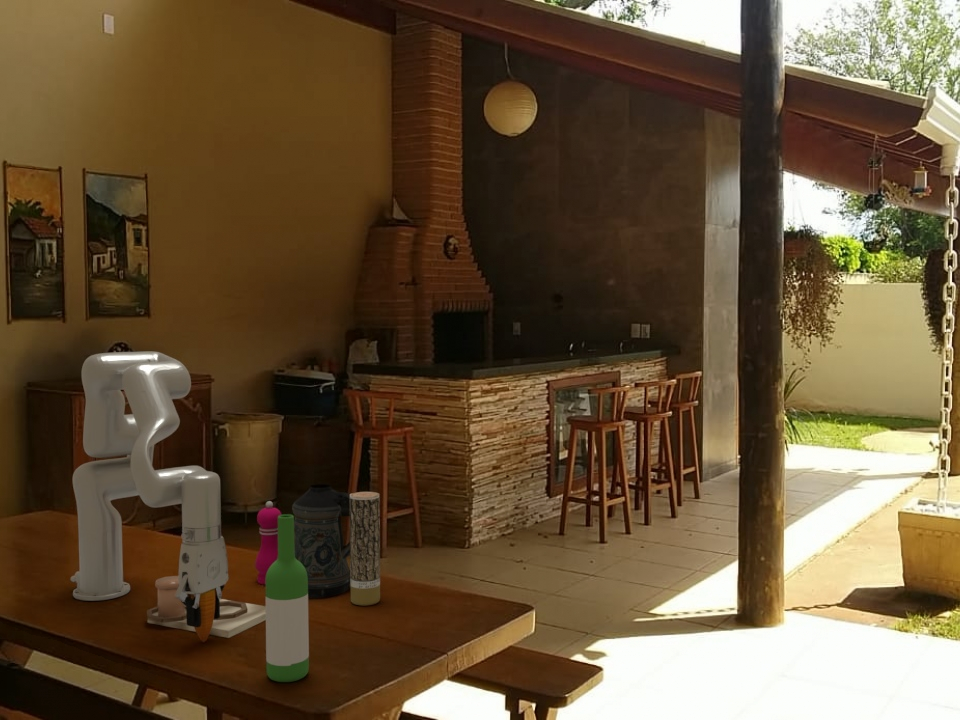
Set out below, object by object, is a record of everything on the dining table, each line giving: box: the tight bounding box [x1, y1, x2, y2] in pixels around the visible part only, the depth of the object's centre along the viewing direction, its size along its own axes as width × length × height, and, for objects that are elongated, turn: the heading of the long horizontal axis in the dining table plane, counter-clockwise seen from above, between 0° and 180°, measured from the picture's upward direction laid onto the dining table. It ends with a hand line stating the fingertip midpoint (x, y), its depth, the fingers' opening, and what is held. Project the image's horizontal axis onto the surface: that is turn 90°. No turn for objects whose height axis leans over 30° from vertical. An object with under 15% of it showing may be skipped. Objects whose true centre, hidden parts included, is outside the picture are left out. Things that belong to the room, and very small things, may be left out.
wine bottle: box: [264, 513, 310, 683], centre depth 176 cm, size 8×8×30 cm
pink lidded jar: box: [154, 575, 185, 617], centre depth 206 cm, size 6×6×8 cm
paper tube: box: [349, 491, 381, 607], centre depth 219 cm, size 7×7×25 cm
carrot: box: [191, 589, 215, 643], centre depth 193 cm, size 5×5×15 cm
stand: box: [146, 598, 266, 639], centre depth 207 cm, size 23×18×2 cm
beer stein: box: [291, 484, 351, 599], centre depth 230 cm, size 16×19×25 cm
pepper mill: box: [254, 500, 282, 586], centre depth 235 cm, size 7×7×20 cm
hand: (203, 620), depth 194 cm, fingers closed on carrot, 4 cm apart
